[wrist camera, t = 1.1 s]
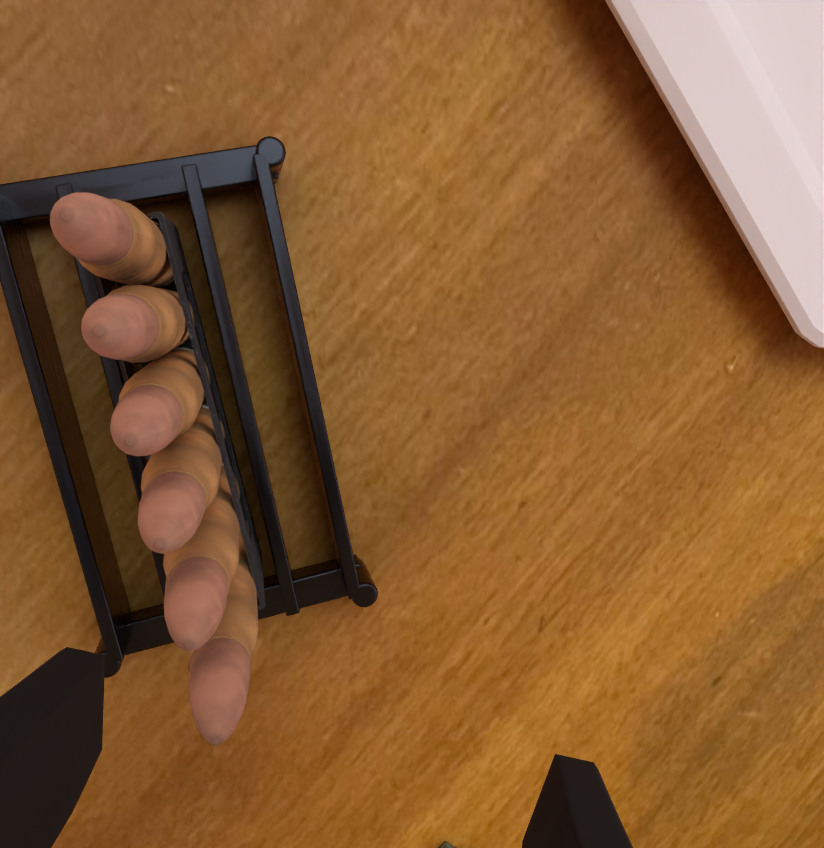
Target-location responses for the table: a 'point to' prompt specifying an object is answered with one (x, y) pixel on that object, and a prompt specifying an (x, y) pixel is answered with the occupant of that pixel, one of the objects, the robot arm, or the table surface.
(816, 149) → the plate
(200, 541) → the stripper clip of bullets
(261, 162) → the rack
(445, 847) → the mat
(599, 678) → the table surface
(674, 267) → the table surface
